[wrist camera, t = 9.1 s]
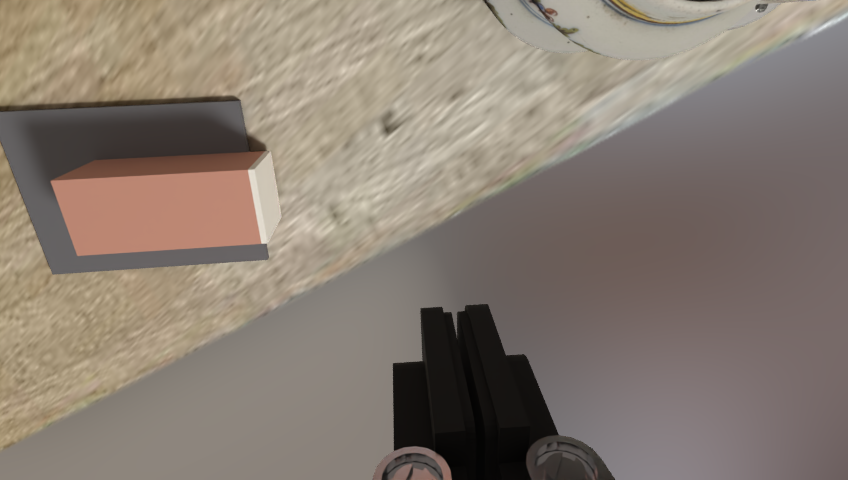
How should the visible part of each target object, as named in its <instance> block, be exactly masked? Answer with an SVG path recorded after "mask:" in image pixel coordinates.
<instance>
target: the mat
mask: <svg viewBox="0 0 848 480" xmlns="http://www.w3.org/2000/svg"><path fill="white" fill-rule="evenodd" d="M0 141H1V143H2V146H3V148H4V151H5V153H6V156H7V159H8V161H9V164H10V166H11V169H12V171H13V174H14V177H15V179H16V182H17V184H18V187H19V189H20V192H21V194H22V197H23V200H24V202H25V205H26V207H27V210H28V212H29V215H30V218H31V220H32V223H33V225H34V228H35V230H36V233H37V235H38V238H39V241H40V243H41V246H42V248H43V251H44V253H45V256H46V259H47V261H48V264H49V266H50V269H51V271H52V274H66V273H81V272H95V271H110V270H125V269H139V268H154V267H168V266H183V265H198V264H212V263H227V262H241V261H256V260H268V258H269V255H268V250H267V244H251V245H236V246H221V247H206V248H190V249H175V250H160V251H145V252H130V253H114V254H99V255H84V256H77V254H76V251H75V248H74V245H73V242H72V240H71V237H70V234H69V231H68V229H67V226H66V223H65V220H64V217H63V215H62V212H61V209H60V206H59V204H58V201H57V198H56V195H55V192H54V190H53V187H52V184H51V180H53V179H55V178H57V177H60V176H62V175H64V174H66V173H68V172H70V171H73V170H75V169H77V168H79V167H81V166H83V165H86V164H88V163H90V162H92V161H94V160H107V159H126V158H145V157H164V156H183V155H201V154H220V153H239V152H250V151H249V145H248V140H247V134H246V129H245V124H244V118H243V113H242V107H241V102H240V100H234V101H212V102H191V103H169V104H147V105H126V106H104V107H82V108H61V109H39V110H18V111H0Z"/></svg>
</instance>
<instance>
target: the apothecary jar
mask: <svg viewBox="0 0 848 480" xmlns="http://www.w3.org/2000/svg"><path fill="white" fill-rule="evenodd" d="M485 1H486V3H487V5H488V6H489V8H490V9H491V11H492V12H493V14H494V15H495V17H496V18H497V19H498V20H499V21H500V23H501V24H502V25H503V26H504V27H505V28H506V29H507V30H508V31H509V32H510V33H511V34H513V35H514V36H515V37H517V38H518V39H520V40H521V41H523V42H525V43H527V44H529V45H531V46H533V47H536V48H538V49H542V50H545V51H549V52H556V53H578V52H584V51H591V52H594V53H597V54H600V55H603V56H607V57H611V58H617V59H624V60H651V59H659V58H664V57H668V56H672V55H676V54H679V53H682V52H685V51H688V50H691V49H693V48H695V47H698V46H700V45H702V44H704V43H706V42H708V41H710V40H711V39H713V38H715V37H717V36H718V35H720V34H721V33H723V32H724V31H726V30H727V29H729V28H730V27H731V26H733V25H734V24H735V23H737V22H738V21H739V20H740V19H742V18H743V17H744V16H745V15H746V14H748V13H749V12H750V11H751V10H752V9H753V8H754V7H755V6H756V5H757V4H758V3H759V2H760V1H761V0H485Z"/></svg>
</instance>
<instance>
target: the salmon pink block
mask: <svg viewBox="0 0 848 480" xmlns="http://www.w3.org/2000/svg"><path fill="white" fill-rule="evenodd" d="M51 184H52V187H53V190H54V192H55V195H56V198H57V201H58V204H59V206H60V209H61V212H62V215H63V217H64V220H65V223H66V226H67V229H68V231H69V234H70V237H71V240H72V242H73V245H74V248H75V251H76V254H77V256H84V255H99V254H114V253H130V252H145V251H160V250H175V249H190V248H206V247H221V246H236V245H251V244H266V243H268V242H269V240H270V238H271V236H272V234H273V232H274V230H275V228H276V226H277V224H278V222H279V220H280V219H281V217H282V216H281V210H280V204H279V198H278V192H277V186H276V180H275V173H274V167H273V161H272V155H271V151H258V152H239V153H220V154H201V155H183V156H164V157H145V158H126V159H107V160H94V161H92V162H90V163H88V164H86V165H83V166H81V167H79V168H77V169H75V170H73V171H70V172H68V173H66V174H64V175H62V176H60V177H57V178H55V179H53V180H51Z"/></svg>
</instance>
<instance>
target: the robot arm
mask: <svg viewBox="0 0 848 480" xmlns="http://www.w3.org/2000/svg"><path fill="white" fill-rule="evenodd" d="M800 1H814V0H761V1H760V2H759V3H758V4H757V5H756V6H755V7H754V8H753V9H752V10H751V11H750V12H749V13H748V14H746V15H745V16H744V17H743V18H742V19H740V20H739V21H738V22H737V23H735V24H734V25H733V26H731V27H730V28H729V29H727V30H731V29H735V28H739V27H743V26H745V25H747V24H750V23H752V22H754V21H756V20H758V19H760V18H762V17H763V16H765V15H766V14H768V13H769V12H771V11H772V10H774V9H775V8H776V7H778V6H779V5H780V4H781V3H785V2H800ZM727 30H726V31H727ZM421 334H422V355H423V356H422V357H423V361H420V362H406V363H393V403H394V405H393V406H394V408H393V409H394V451H393V452H392V453H390V454H389V455H387V456H386V457H384V458H383V460H382V461H381V462H380V463H379V465H378V466H377V468H376V470H375V473H374V476H373V480H615V478H614V477H613V476H612V474H611V472H610V471H609V470H608V468H607V466H606V465H605V463H604V462H603V461H602V459H601V458H600V457H599V456H598V454H597V453H596V452H595V451H594V450H593V449H592V448H591V447H589V446H588V445H586V444H585V443H583V442H581V441H579V440H576V439H574V438H571V437H566V436H560V435H559V434H558V432H557V430H556V427H555V425H554V423H553V420H552V417H551V415H550V412H549V410H548V408H547V405H546V403H545V400H544V398H543V395H542V393H541V391H540V388H539V386H538V383H537V381H536V379H535V376H534V373H533V371H532V369H531V366H530V364H529V361H528V359H527V357H526V356H525V355H524V354H522V355H507V356H506V355H505V352H504V349H503V346H502V343H501V340H500V337H499V335H498V332H497V329H496V326H495V323H494V320H493V317H492V315H491V312H490V309H489V306H488V304H480V305H466V306H465V311H462V312H458V313H457V337H456V332H455V327H454V323H453V318H452V313H451V312H445V313H443V308H442V307H433V308H421Z"/></svg>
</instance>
